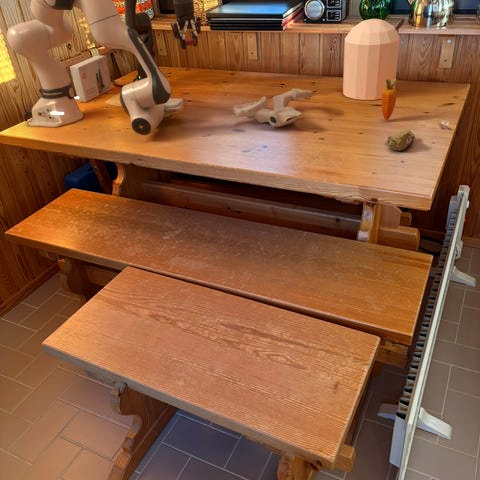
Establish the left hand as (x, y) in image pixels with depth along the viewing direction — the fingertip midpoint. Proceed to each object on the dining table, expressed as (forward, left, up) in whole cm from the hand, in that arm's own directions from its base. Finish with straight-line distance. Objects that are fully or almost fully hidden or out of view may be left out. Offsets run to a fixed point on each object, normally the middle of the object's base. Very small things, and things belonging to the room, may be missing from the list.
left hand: (162, 99), depth 188 cm
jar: (0, -1, -6) cm, 6 cm away
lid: (+11, +13, +19) cm, 25 cm away
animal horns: (+48, -15, -6) cm, 51 cm away
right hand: (+11, +13, +16) cm, 24 cm away
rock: (+88, -37, -6) cm, 96 cm away
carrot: (+86, -15, -6) cm, 88 cm away
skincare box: (-43, +31, -6) cm, 53 cm away
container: (+83, +18, -6) cm, 85 cm away
